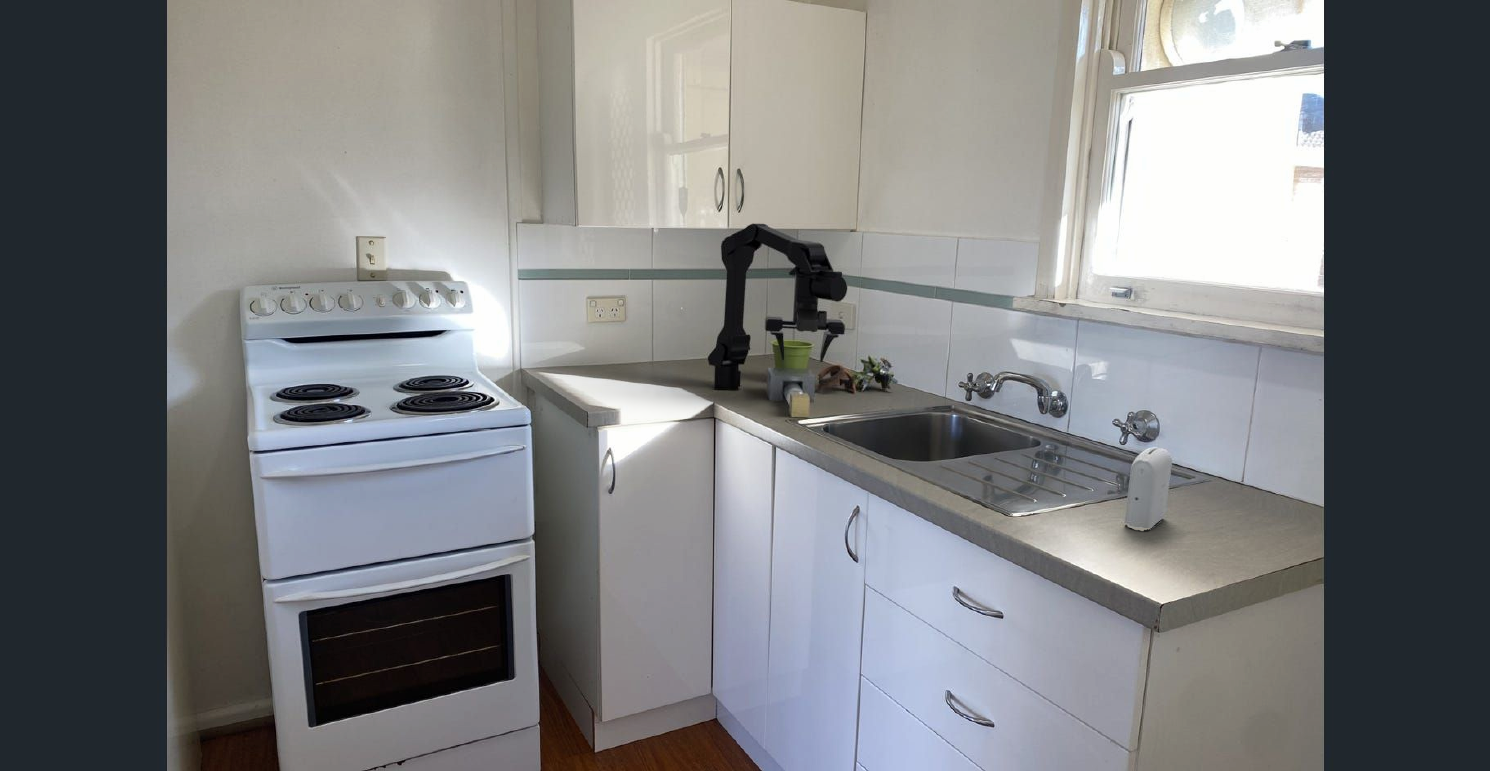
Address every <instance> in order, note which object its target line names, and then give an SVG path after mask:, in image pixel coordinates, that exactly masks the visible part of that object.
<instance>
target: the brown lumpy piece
mask: <svg viewBox="0 0 1490 771" xmlns="http://www.w3.org/2000/svg"><path fill="white" fill-rule="evenodd" d="M827 375H830V376H829V377H826V378H824V377H825V376H827ZM852 376H853V375H852V373H851V372H849V371H848V369H845V368H844V366H842V365H841V364H833V365H830V366H827V367H826V368H824V369H822V370H821V371H820V372H819V373H818V378H817V380H818V384H817V387H818V388H817V389H818V391H819V392H822V389H828V388H832V387H841V386H843V385H844V390H845V391H848V390H851V391H853V394H854V395H855V394H856V393H857V390H856V386H855V380H853V377H852Z"/></svg>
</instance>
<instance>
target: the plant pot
mask: <svg viewBox="0 0 1490 771" xmlns="http://www.w3.org/2000/svg"><path fill="white" fill-rule="evenodd" d="M783 341H784V360H782V357H781V353H780V349H779V345H778V342H777V339H776V340H772V341H770V345H772V352H773V356H774V357H773V358H774V366H775V367H774V368H804V369H808V368H807V367H808V363H809V358H810V355H811V353H812V349H813V347H815V344H814V343H812V342H809V341H803V340H793V339H783Z"/></svg>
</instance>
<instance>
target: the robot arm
mask: <svg viewBox="0 0 1490 771" xmlns="http://www.w3.org/2000/svg"><path fill="white" fill-rule="evenodd" d="M720 244H721V245H720V252H721V253H720V254H721V255H720V256H721V261H722V263H723V266H724V268H725V269H726V282H725V283H726V284H725V299H724V300H725V301H724V302H725V303H724V316H723V317H724V318H723V319H724V320H723V321H724V322H723V327H722V328H721V330H720V331H719V333H718V335H717V337H716V345H715V347H714V348H713V350H712V351H711V352H710V354H708V356H707V361H708V365H709V366H713V367H714V372H713V373H714V374H713V375H714V376H713V386H712V387H713V390H733V391H734V390H735V391H739V390H740V387H741V377H742V376H741V375H742V374H741V373H742V372H741V369H739V368H740V367H739V365H740V366H741V365H743V366H744V365H745V363H746V359H747V356H748V355H749V351H751V334H747V333H746V330H745V328H744V316H745V301H746V285H747V271H749V269H750V267H751V265H752V263H753V261H754V257H755V252H757V250H759V249H760V248H761V247H762V245H765V246H766V247H769V248H771V249H772V250H775V251H777V252H778V253H781V254H783V255H784V256H786V257H787V261H789V262H790V263H792V264H793V265H794V266H795V267H794V268H793V269H791V270H790V271H789V272H788V275H789V276H793V277H795V278H794V296H793V310H792V311H793V312H792V320H783V317H782V316H766V317H765V318H764V330H765V332H769V334H770V335H773V336H775V339H776V340H777V342H778V345H779V349H780V353H781V357H782V360H784V341H783V340H784V332H783V329H792V330H797V331H798V332H801V333H803V332H811V333H816V332H818V331H823V335H822V341H821V347H820V353H819V354H820V355H819V356H820V357H819V362H820V363H823V361H824V359H825V356H826V353H827V351H828V348H829V346H830V345H831V343H832V342H833V341H834V339H838V338H839V336H840V335H845V331H846V325H845V323H844V322H843V321H842V320H841V319H834V318H833V319H832V318H831V319H830V318H828V312H827V311H826V310H818V308H819V307H818V306H819V299H820V300H824V301H825V300H826V301H830V302H831V301H832V302H836V303H837V302H838V303H839V302H841V301H842V300H844V298H846V295H847V292H848V285H847V281H846V280H845V278H844V277H843V272H842V271H834V269H833V266H832V265H831V262H830V260H829V258H828V255H827V253H826V251H825V250H826V249H825V246H824V245H823V244H822V243H820V242H815V241H811V240H800V239H796V238H795V237H793V236H790V235H789V234H786V233H783V232H781V231H779V230H776V229H775V228H772V227H770V226H769V225H767V224H765V223H751V224H749V225H747V226H746V227H745V228H742V229H741V230H739V231H737V232H734V233H732V234H731V235H730V236H726V237H724V239H723V240H722V241H721V243H720Z"/></svg>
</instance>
